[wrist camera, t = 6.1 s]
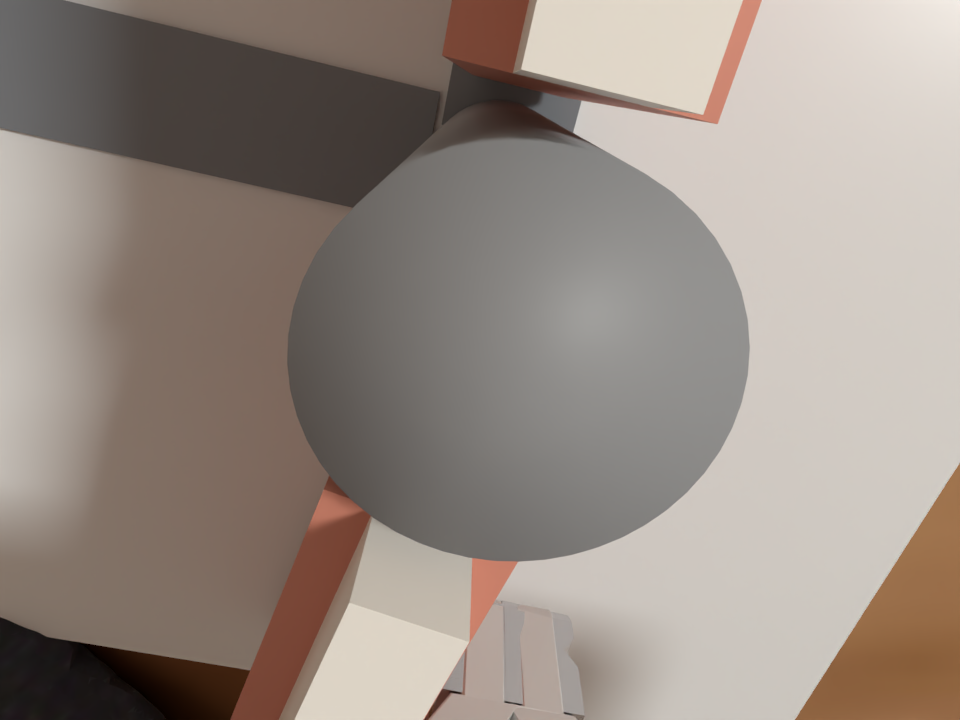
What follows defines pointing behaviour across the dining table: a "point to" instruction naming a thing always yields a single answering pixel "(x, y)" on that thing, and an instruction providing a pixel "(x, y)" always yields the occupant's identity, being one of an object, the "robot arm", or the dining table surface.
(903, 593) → the dining table surface
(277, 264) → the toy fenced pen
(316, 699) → the fence panel
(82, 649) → the dark slate chunk
